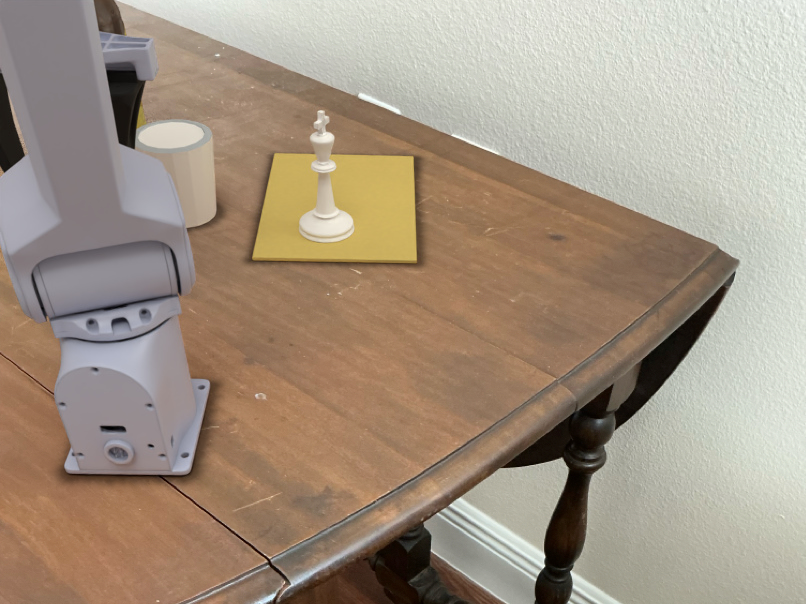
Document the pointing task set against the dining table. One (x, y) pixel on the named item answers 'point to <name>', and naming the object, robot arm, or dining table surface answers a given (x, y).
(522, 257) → the dining table surface
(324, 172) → the chess piece
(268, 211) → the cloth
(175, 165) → the cream cylinder
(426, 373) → the dining table surface
